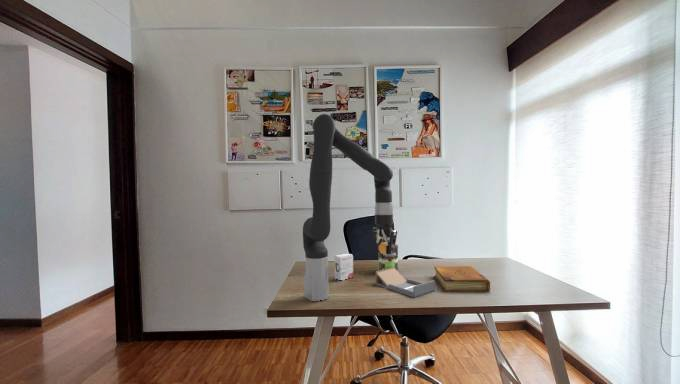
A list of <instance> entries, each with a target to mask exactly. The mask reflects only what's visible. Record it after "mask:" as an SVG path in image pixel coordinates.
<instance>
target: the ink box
mask: <svg viewBox="0 0 680 384" xmlns="http://www.w3.org/2000/svg"><path fill="white" fill-rule="evenodd" d="M352 277H353V278H354V255H353V254H352V253H343V254H337V255H334V280H336V279H338V280H337V281H339V280H343V281H345V279H347V280H350V279H353V278H352ZM349 278H350V279H349Z"/></svg>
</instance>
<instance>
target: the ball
mask: <svg viewBox="0 0 680 384" xmlns="http://www.w3.org/2000/svg"><path fill="white" fill-rule="evenodd" d="M386 246H387V245H386V241H384V242H382V243H381V244H380V245H379V251H380V253H382V254H386Z"/></svg>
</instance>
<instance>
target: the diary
mask: <svg viewBox="0 0 680 384" xmlns="http://www.w3.org/2000/svg"><path fill="white" fill-rule="evenodd" d="M433 268H434V270H435V274H434V278H435V280H436V281H437V282H438V284H439V285H440V286H441V288H442V289H443V290H444V292H449V293H451V292H452V293H453V292H454V293H455V292H457V293H458V292H467V293H468V292H469V293H470V292H473V293H474V292H475V293H480V292H481V293H490V292H491V281H490V280H489V279H488V278H487V277H485V276H484V275H483V274H482V273H480V272H479V271H478V270H477V269H475V268H474V267H473V266H471V265H469V266H468V265H466V266H465V265H451V266H450V265H434V266H433Z"/></svg>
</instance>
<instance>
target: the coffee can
mask: <svg viewBox="0 0 680 384" xmlns="http://www.w3.org/2000/svg"><path fill="white" fill-rule="evenodd" d="M392 267H395V269H396V270H397V271H398V272H399V245H398V244H396V243H395V244H393V245H392V253H391V254H389V255H387V254H382V253H380V252H378V271H380V270H384V269H388V268H392Z"/></svg>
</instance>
